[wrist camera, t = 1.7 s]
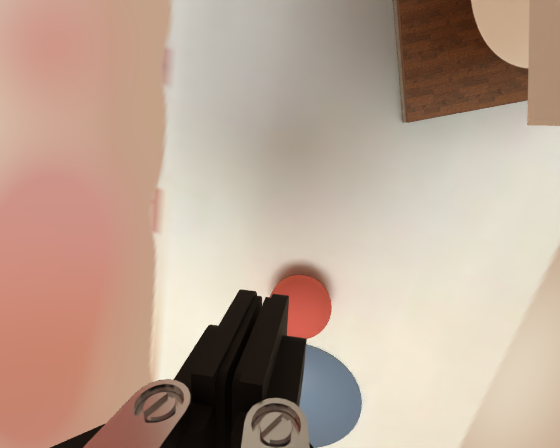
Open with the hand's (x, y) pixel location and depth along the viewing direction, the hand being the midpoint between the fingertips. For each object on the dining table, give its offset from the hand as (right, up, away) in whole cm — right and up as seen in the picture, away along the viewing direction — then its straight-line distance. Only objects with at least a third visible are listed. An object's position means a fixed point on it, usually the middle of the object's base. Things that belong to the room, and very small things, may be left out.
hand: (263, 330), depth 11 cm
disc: (+2, -15, +24) cm, 29 cm away
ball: (+2, -4, +18) cm, 18 cm away
